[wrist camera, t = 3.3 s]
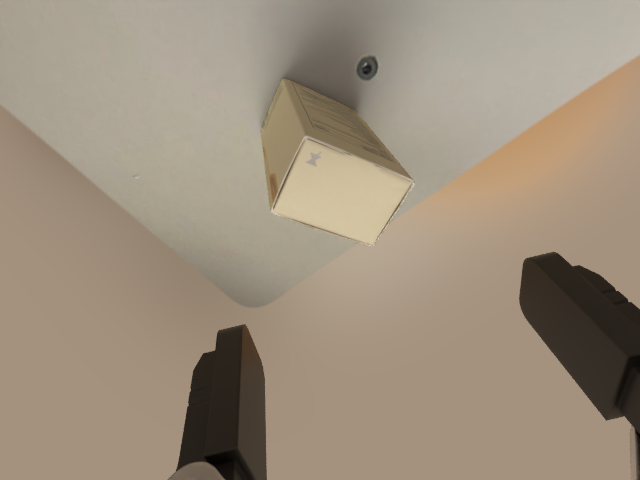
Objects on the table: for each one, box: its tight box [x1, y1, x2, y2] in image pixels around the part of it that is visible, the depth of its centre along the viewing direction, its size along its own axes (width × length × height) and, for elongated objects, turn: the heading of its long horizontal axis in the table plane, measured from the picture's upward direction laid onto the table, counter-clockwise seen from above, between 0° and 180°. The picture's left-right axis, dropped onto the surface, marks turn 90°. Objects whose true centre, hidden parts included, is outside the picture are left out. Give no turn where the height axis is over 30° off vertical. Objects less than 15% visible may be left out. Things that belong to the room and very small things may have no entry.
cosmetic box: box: [261, 78, 414, 246], centre depth 25 cm, size 6×4×12 cm
